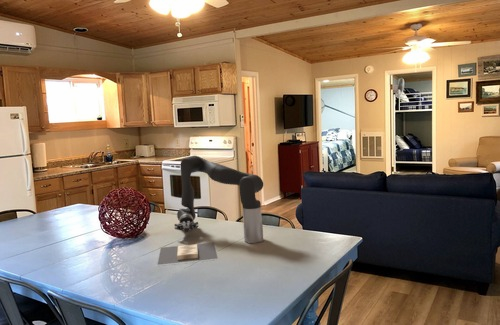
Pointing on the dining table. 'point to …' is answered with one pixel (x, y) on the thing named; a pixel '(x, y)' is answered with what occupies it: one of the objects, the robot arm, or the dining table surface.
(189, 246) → the birch tile
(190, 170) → the robot arm
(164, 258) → the rubber mat
